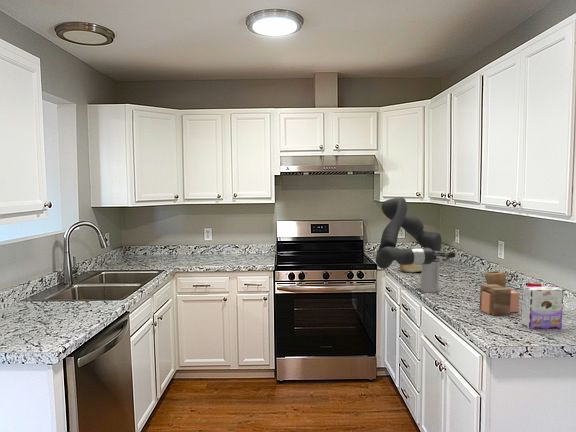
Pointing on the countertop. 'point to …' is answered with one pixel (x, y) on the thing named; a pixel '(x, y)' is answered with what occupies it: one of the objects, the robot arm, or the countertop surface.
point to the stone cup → (496, 278)
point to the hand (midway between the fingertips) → (454, 254)
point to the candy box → (542, 307)
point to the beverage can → (533, 284)
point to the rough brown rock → (411, 268)
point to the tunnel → (498, 298)
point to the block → (487, 302)
